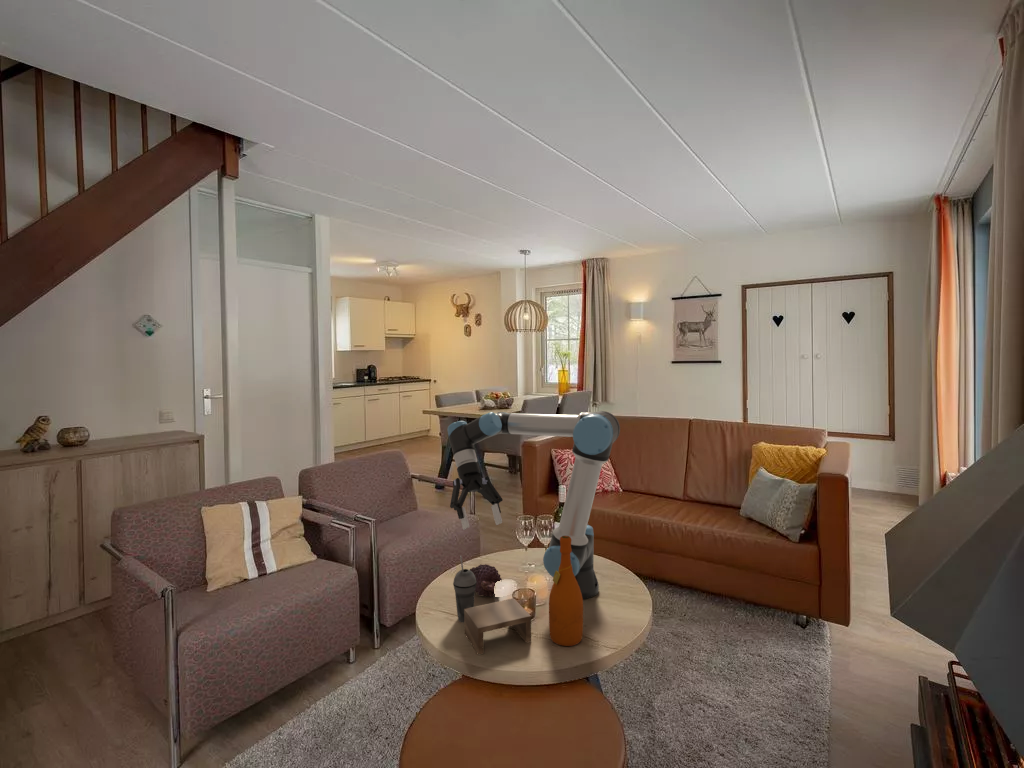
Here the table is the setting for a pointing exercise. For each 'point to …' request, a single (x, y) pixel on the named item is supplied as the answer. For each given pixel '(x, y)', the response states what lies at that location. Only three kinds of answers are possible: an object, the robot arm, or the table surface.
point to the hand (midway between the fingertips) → (483, 526)
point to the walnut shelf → (495, 621)
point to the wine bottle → (565, 601)
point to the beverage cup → (464, 590)
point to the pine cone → (485, 579)
